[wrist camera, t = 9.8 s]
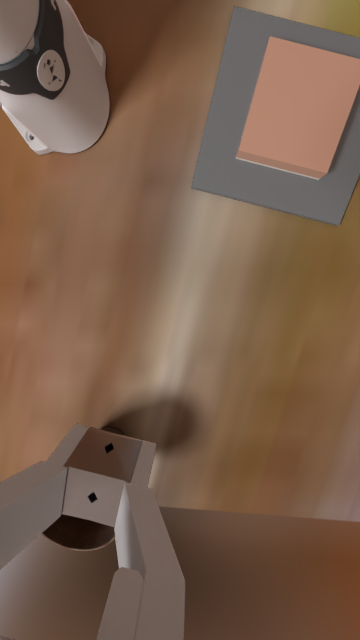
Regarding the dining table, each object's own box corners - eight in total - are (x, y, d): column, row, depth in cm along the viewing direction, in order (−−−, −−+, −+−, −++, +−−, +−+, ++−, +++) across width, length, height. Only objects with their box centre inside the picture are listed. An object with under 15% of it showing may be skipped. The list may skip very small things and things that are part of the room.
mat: (337, 225, 37) (339, 225, 36) (191, 188, 37) (191, 186, 36) (405, 54, 31) (409, 50, 31) (233, 11, 31) (234, 6, 31)
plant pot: (153, 430, 48) (134, 505, 33) (128, 476, 52) (100, 564, 36) (93, 402, 48) (44, 465, 32) (72, 450, 51) (18, 529, 36)
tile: (327, 173, 33) (368, 61, 29) (238, 150, 33) (269, 36, 29) (318, 179, 35) (355, 76, 32) (235, 158, 35) (264, 53, 32)
